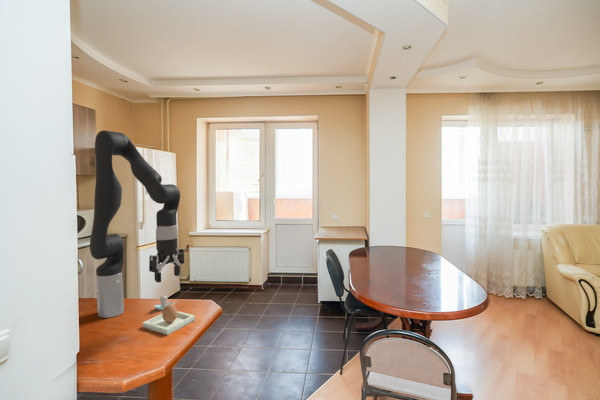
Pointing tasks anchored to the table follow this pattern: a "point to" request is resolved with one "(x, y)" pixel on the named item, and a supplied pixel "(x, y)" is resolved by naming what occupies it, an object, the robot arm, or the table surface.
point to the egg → (169, 313)
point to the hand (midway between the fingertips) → (167, 278)
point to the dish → (168, 328)
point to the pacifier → (162, 303)
